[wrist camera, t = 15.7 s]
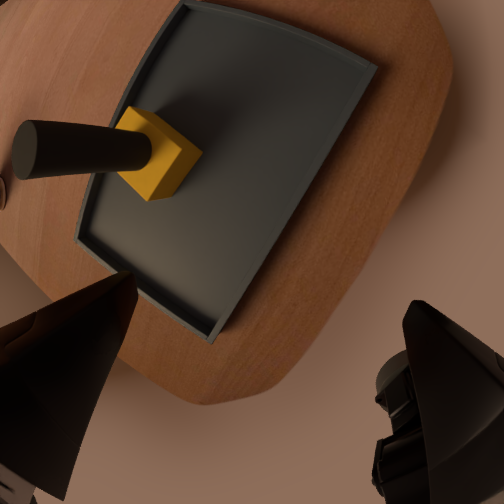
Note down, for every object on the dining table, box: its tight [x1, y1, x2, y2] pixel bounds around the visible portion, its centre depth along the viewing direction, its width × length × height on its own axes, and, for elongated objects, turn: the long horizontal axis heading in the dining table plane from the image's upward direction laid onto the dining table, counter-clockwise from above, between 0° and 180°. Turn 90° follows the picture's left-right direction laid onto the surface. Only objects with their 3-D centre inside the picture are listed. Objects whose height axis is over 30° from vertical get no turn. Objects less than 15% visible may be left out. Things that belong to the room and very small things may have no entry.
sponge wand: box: [11, 106, 203, 202], centre depth 15 cm, size 6×4×13 cm
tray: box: [73, 0, 378, 344], centre depth 20 cm, size 17×25×2 cm
